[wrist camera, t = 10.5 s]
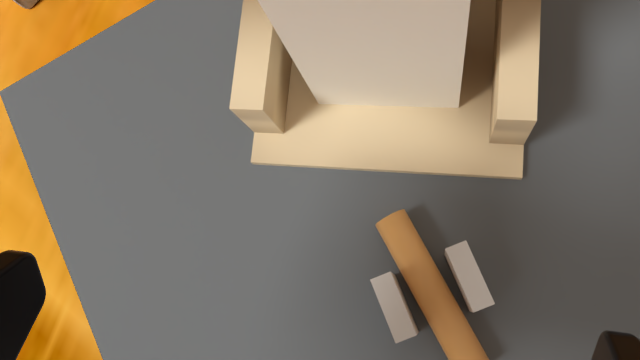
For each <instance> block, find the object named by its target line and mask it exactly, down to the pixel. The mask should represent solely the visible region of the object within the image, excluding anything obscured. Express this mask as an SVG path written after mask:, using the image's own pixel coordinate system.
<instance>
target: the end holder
mask: <svg viewBox="0 0 640 360" xmlns="http://www.w3.org/2000/svg"><path fill="white" fill-rule="evenodd" d="M540 16H541V0H471V2H470V11H469V19H468V28H467V37H466V46H465V55H464V64H463V73H462V82H461V91H460V100H459V108H444V107H408V106H372V105H336V104H318V102H317V100H316V99H315V97H314V95H313V94H312V92H311V90H310V88H309V87H308V85H307V83H306V82H305V80H304V78H303V77H302V75H301V73H300V71H299V70H298V68H297V66H296V65H295V63H294V61H293V60H292V58H291V56H290V54H289V53H288V51H287V49H286V48H285V46H284V44H283V43H282V41H281V39H280V37H279V36H278V34H277V32H276V31H275V29H274V27H273V26H272V24H271V22H270V21H269V19H268V17H267V15H266V14H265V12H264V10H263V9H262V7H261V5H260V4H259V2H258V0H243V5H242V13H241V21H240V29H239V36H238V44H237V52H236V60H235V68H234V75H233V83H232V91H231V99H230V106H229V109H230V110H231V111H232V112H233V113H234V114H235V115H236V116H237V117H238V118H239V119H241V120H242V121H243V122H244V123H245V124H246V125H247V126H248V127H249V128H250V129H251V130H252V131H253V132H254V138H253V147H252V155H251V163H252V164H256V165H273V166H291V167H308V168H326V169H343V170H360V171H378V172H395V173H413V174H430V175H448V176H465V177H483V178H500V179H518V180H521V179H522V178H523V151H524V144H525V142H526V140H527V138H528V136H529V134H530V133H531V131H532V129H533V127H534V125H535V123H536V122H537V105H538V75H539V46H540Z"/></svg>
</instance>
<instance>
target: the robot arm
mask: <svg viewBox="0 0 640 360" xmlns="http://www.w3.org/2000/svg"><path fill="white" fill-rule="evenodd" d="M45 296H46V289H45V286H44V282H43V279H42V276H41V273H40V270H39V267H38V264H37V261H36V258H35V257H34V256H33V255H32V254H31V253H28V252H22V251H14V250H8V251H4V252H2V253H0V360H16V358H17V356H18V354H19V352H20V350H21V348H22V346H23V344H24V342H25V340H26V338H27V336H28V334H29V332H30V330H31V328H32V326H33V324H34V322H35V320H36V318H37V316H38V314H39V312H40V310H41V308H42V306H43V304H44V301H45ZM591 360H640V340H639V339H638V338H637V337H636V336H634V335H633V334H630V333H624V332H617V331H609V330H606V331H603V332H602V333H601V334H600V336H599V338H598V341H597V344H596V347H595V350H594V353H593V356H592V359H591Z"/></svg>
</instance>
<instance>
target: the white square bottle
mask: <svg viewBox="0 0 640 360" xmlns="http://www.w3.org/2000/svg"><path fill="white" fill-rule="evenodd" d="M258 2H259V4H260V5H261V7H262V9H263V10H264V12H265V14H266V15H267V17H268V19H269V21H270V22H271V24H272V26H273V27H274V29H275V31H276V32H277V34H278V36H279V37H280V39H281V41H282V43H283V44H284V46H285V48H286V49H287V51H288V53H289V54H290V56H291V58H292V60H293V61H294V63H295V65H296V66H297V68H298V70H299V71H300V73H301V75H302V77H303V78H304V80H305V82H306V83H307V85H308V87H309V88H310V90H311V92H312V94H313V95H314V97H315V99H316V100H317V102H318V104H336V105H372V106H408V107H444V108H459V100H460V91H461V82H462V73H463V64H464V55H465V46H466V37H467V28H468V19H469V11H470V2H471V0H258Z"/></svg>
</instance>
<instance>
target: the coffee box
mask: <svg viewBox="0 0 640 360" xmlns="http://www.w3.org/2000/svg"><path fill="white" fill-rule="evenodd" d="M13 1H14V2H16V3H17V4H18V5H20V6H22V7H23V8H26V9H30V8H32V7H33V6H34V5H35V4H36V2H37V1H38V0H13Z"/></svg>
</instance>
